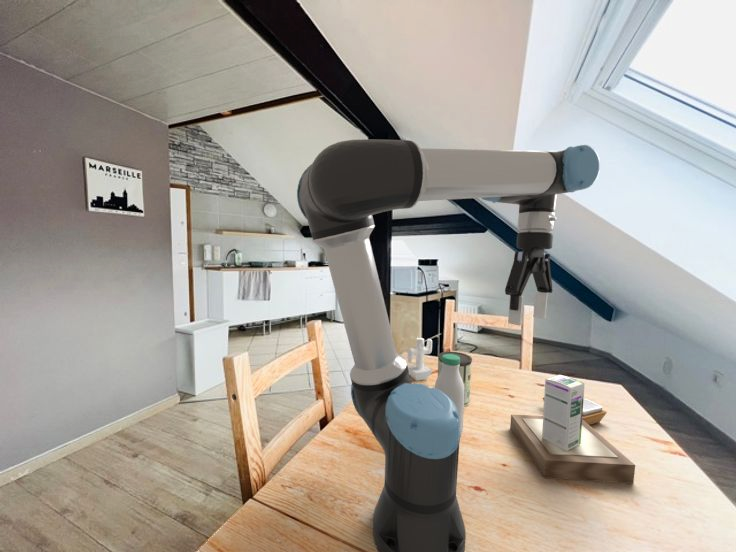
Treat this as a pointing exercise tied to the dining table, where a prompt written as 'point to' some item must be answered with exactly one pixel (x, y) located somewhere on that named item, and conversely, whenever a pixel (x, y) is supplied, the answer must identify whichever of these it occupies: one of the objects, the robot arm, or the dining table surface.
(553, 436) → the syrup box
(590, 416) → the soap dish
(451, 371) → the milk bottle
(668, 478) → the dining table surface
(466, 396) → the coffee can
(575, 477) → the pedestal
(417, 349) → the figurine
